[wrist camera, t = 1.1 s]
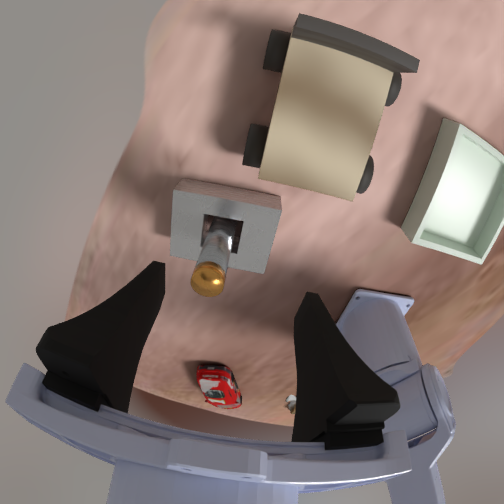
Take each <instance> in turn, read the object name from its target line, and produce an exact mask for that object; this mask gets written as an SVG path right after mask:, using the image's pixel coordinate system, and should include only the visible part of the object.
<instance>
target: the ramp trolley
mask: <svg viewBox="0 0 504 504" xmlns="http://www.w3.org/2000/svg"><path fill="white" fill-rule="evenodd" d="M290 36H291V37H290ZM288 45H289V46H288ZM419 61H420V60H419V59H417V58H415V57H413V56H411V55H409V54H407V53H405V52H403V51H401V50H399V49H397V48H395V47H393V46H391V45H389V44H387V43H385V42H382V41H380V40H378V39H375V38H373V37H371V36H368V35H366V34H363V33H361V32H358V31H355V30H353V29H350V28H347V27H344V26H341V25H338V24H335V23H332V22H329V21H326V20H322V19H319V18H315V17H312V16H308V15H304V14H300V13H299V15H298V18H297V20H296V22H295V25H294V27H293V29H292V33H288V32H283V31H278V30H273V29H272V31H271V34H270V38H269V42H268V46H267V50H266V55H265V60H264V65H263V69H266V70H271V71H276V72H282V75H281V79H280V83H279V88H278V92H277V96H276V101H275V105H274V109H273V113H272V118H271V122H270V127H266V126H262V125H257V124H251V125H250V129H249V133H248V137H247V142H246V147H245V152H244V157H243V163H242V165H246V166H251V167H256V168H260V171H259V177H258V179H262V180H267V181H271V182H276V183H280V184H285V185H289V186H293V187H298V188H302V189H306V190H310V191H314V192H318V193H322V194H326V195H330V196H334V197H337V198H341V199H345V200H348V201H352V202H353V199H354V197H355V194H356V192H357V193H360V194H362V193H364V192H365V191H366V190H367V188H368V187H369V185H370V182H371V180H372V176H373V171H374V162H373V159H372V157H371V156H370V152H371V149H372V145H373V142H374V139H375V136H376V133H377V130H378V127H379V123H380V120H381V117H382V113H383V110H384V106H390V105H392V104H393V103H394V101H395V100H396V98H397V97H398V94H399V92H400V89H401V82H402V78H401V74H400V73H417V70H418V65H419ZM283 65H284V66H283ZM282 69H283V71H282ZM268 128H269V131H268ZM267 134H268V135H267ZM266 139H267V140H266ZM261 161H262V162H261ZM260 165H261V166H260Z"/></svg>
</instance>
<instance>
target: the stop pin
mask: <svg viewBox="0 0 504 504" xmlns="http://www.w3.org/2000/svg"><path fill="white" fill-rule="evenodd" d="M236 225H237V220H235V219H230V218H224V217H219V216H214V218H213V220H212V223H211V226H210V228H209V231H208V234H207V236H206V239H205V242H204V244H203V247H202V250H201V253H200V255H199V258H198V261H197V264H196V267H195V269H194V272H193V275H192V278H191V286H192V288H193V289H194V291H195V292H197V293H198V294H200V295H202V296H206V297H213V296H217V295H219V294H220V293H221V292H222V290H223V287H224V282H225V277H226V272H227V268H228V263H229V258H230V253H231V248H232V244H233V239H234V234H235V230H236Z"/></svg>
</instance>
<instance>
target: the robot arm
mask: <svg viewBox="0 0 504 504" xmlns="http://www.w3.org/2000/svg"><path fill="white" fill-rule="evenodd" d="M164 295H165V263H161V262H157V261H153V262H152V263H151V264H149V265H148V266H147V267H146V268H145V269H144V270H143V271H142V272H141V273H140V274H138V275H137V276H136V277H135V278H134V279H133V280H132V281H130V282H129V283H128V284H127V285H126V286H124V287H123V288H122V289H121V290H119V291H118V292H117V293H115V294H114V295H113V296H111V297H110V298H108V299H107V300H106V301H104V302H102V303H101V304H99V305H98V306H96V307H94V308H93V309H91V310H89V311H87V312H85V313H83V314H81V315H79V316H77V317H75V318H72V319H70V320H68V321H65V322H62V323H59V324H57V325H54V326H50V327H48V329H47V330H46V331H45V333H44V334H43V336H42V338H41V340H40V342H39V343H38V346H37V347H36V353H37V355H38V357H39V358H40V360H41V361H42V363H43V364H44V366H45V367H46V369H47V370H48V371H47V373H46V375H45V374H43V373H42V372H41V371H39V370H37V369H35V368H34V367H32V366H30V365H28V364H26V363H23V365H22V367H21V369H20V371H19V373H18V375H17V377H16V379H15V381H14V383H13V385H12V387H11V389H10V392H9V394H8V396H7V398H6V403H7V404H8V405H9V406H10V407H11V408H12V409H14V410H15V411H16V412H17V413H18V414H20V415H21V416H22V417H23V418H25V419H26V420H27V421H28V422H30V423H31V424H33V425H35V426H36V427H38V428H40V429H41V430H43V431H45V432H46V433H48V434H50V435H52V436H54V437H55V438H57V439H59V440H61V441H63V442H65V443H67V444H69V445H70V446H73V447H74V448H76V449H78V450H81V451H83V452H85V453H87V454H89V455H91V456H94V457H96V458H98V459H101V460H103V461H105V462H108V463H110V464H113V465H115V467H114V472H113V475H112V480H111V484H110V488H109V493H108V498H107V503H106V504H298V493H311V492H321V491H330V490H337V489H344V488H351V487H356V486H362V485H367V484H372V483H376V482H381V481H385V482H386V483H387V485H388V489H389V493H390V497H391V501H392V504H446V502H445V497H444V492H443V488H442V483H441V479H440V474H439V470H438V466H437V462H436V461H437V459H438V458H439V457H440V456H441V454H442V453H443V452H444V450H445V449H446V447H447V446H448V445H449V443H450V442H451V440H452V439H453V437H454V431H455V428H456V422H455V419H454V415H453V411H452V405H451V401H450V397H449V394H448V391H447V389H446V386H445V383H444V381H443V379H442V376H441V374H440V373H439V371H438V369H437V368H436V367H435V366H433V365H430V364H428V363H427V364H425V365H422V363H421V360H420V357H419V354H418V351H417V349H416V346H415V343H414V340H413V338H412V335H411V333H410V330H409V328H408V325H407V323H406V320H405V318H404V315H405V314H406V313H407V311H408V310H409V309H410V307H411V306H412V304H413V303H414V299H413V298H412V297H406V296H400V295H394V294H388V293H382V292H376V291H370V290H364V289H358V290H356V291H355V293H354V294H353V296H352V298H351V300H350V301H349V303H348V305H347V307H346V308H345V310H344V312H343V313H342V315H341V317H340V318H339V320H338V322H337V323H336V324H335V323H334V321H333V319H332V318H331V316H330V314H329V312H328V311H327V309H326V307H325V305H324V303H323V302H322V300H321V298H320V296H319V295H318V294H316V293H311V292H307V293H306V295H305V297H304V299H303V301H302V303H301V305H300V308H299V310H298V312H297V314H296V316H295V318H294V345H295V356H296V367H297V395H296V409H295V419H294V427H293V434H292V441H291V442H278V441H263V440H252V439H242V438H234V437H227V436H220V435H214V434H208V433H202V432H197V431H192V430H187V429H182V428H178V427H174V426H170V425H165V424H162V423H158V422H154V421H150V420H147V419H143V418H140V417H137V416H134V415H130V414H128V408H129V402H130V397H131V392H132V387H133V383H134V379H135V375H136V371H137V367H138V364H139V360H140V357H141V353H142V350H143V347H144V345H145V342H146V340H147V338H148V335H149V333H150V331H151V328H152V326H153V324H154V322H155V319H156V317H157V315H158V313H159V310H160V308H161V305H162V301H163V298H164ZM358 296H359V297H358ZM435 428H436V429H435ZM433 429H435V430H433ZM430 430H433V431H431V432H429V433H427V434H425V435H423V436H421V437H418V438H416V439H414V440H411V441H409V442H407V441H408V440H410V439H412V438H415V437H417V436H419V435H422V434H424V433H426V432H428V431H430Z"/></svg>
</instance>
